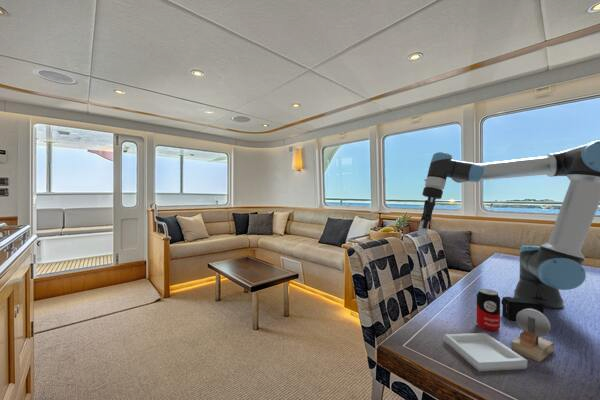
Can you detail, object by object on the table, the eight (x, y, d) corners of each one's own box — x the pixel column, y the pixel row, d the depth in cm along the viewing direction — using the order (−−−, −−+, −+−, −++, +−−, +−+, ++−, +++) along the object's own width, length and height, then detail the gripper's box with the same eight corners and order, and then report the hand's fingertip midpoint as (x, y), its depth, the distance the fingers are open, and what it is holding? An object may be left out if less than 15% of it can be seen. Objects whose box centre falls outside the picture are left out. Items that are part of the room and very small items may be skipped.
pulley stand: (524, 339, 77) (524, 302, 77) (555, 351, 71) (556, 311, 71) (509, 349, 72) (509, 309, 72) (541, 363, 66) (542, 319, 66)
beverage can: (472, 324, 86) (472, 289, 86) (484, 321, 88) (484, 287, 88) (492, 334, 80) (492, 296, 80) (504, 330, 83) (504, 293, 82)
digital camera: (532, 316, 92) (532, 297, 92) (543, 324, 87) (544, 303, 87) (500, 314, 94) (500, 295, 94) (509, 321, 89) (509, 301, 89)
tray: (485, 339, 77) (485, 332, 77) (527, 368, 64) (527, 360, 64) (444, 341, 76) (444, 334, 76) (478, 371, 63) (478, 362, 63)
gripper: (422, 190, 122) (411, 233, 122) (426, 181, 99) (412, 233, 99) (439, 194, 119) (428, 237, 119) (447, 185, 96) (433, 239, 96)
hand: (421, 236), depth 109 cm, fingers open, 13 cm apart
